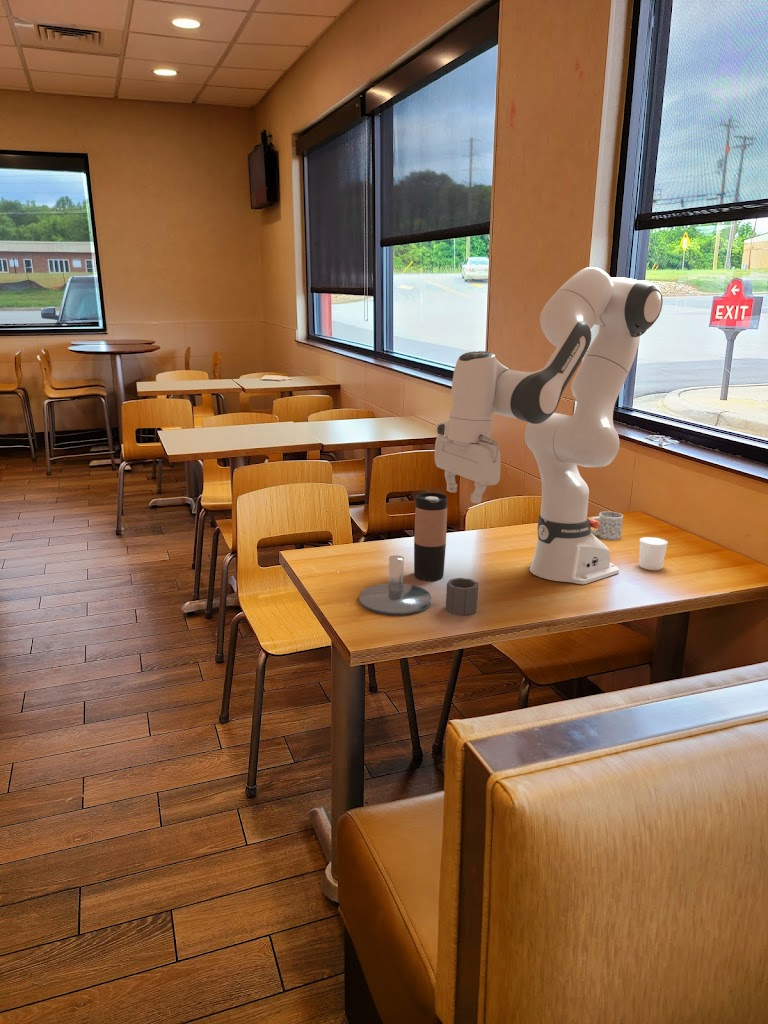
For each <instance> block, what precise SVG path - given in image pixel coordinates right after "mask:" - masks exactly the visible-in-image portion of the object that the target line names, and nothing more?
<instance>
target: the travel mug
mask: <svg viewBox="0 0 768 1024" xmlns="http://www.w3.org/2000/svg"><path fill="white" fill-rule="evenodd" d="M414 510H415V512H414V513H415V514H414V535H413V537H414V539H413V542H414V543H413V567H414V568H413V574H414V578H416V579H418V580H421V581H427V582H433V581H434V582H435V581H438V580H442V579H443V578H444V572H445V562H446V561H445V560H446V559H445V558H446V550H447V549H446V547H447V523H448V518H447V517H448V496H447V495H446V494H443V493H437V492H422V493H419V494H417V495H415V509H414Z"/></svg>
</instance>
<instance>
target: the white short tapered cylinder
mask: <svg viewBox="0 0 768 1024" xmlns="http://www.w3.org/2000/svg"><path fill="white" fill-rule="evenodd" d="M668 544H669V543H668V541H667V540H666V539H664V538H661V537H655V536H652V537H651V536H644V537H640V538H639V554H638V555H639V557H638V558H639V561H638V563H639V564H638V566H639V567H640V568H642V569H644V570H648V571H660V570H662V569H663V565H664V561H665V557H666V552H667V548H668Z"/></svg>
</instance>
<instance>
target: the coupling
mask: <svg viewBox="0 0 768 1024" xmlns="http://www.w3.org/2000/svg"><path fill="white" fill-rule="evenodd" d="M445 595H446V596H445V597H446V598H445V610H446V611H447V612H449V613H450V614H452V615H457V616H468V615H474V614H476V611H478V610H477V609H478V598H479V582H477V581H475V580H473V579H471V578H464V577H456V578H451V579H448V581H447V582H446V594H445Z"/></svg>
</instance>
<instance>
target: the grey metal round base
mask: <svg viewBox="0 0 768 1024" xmlns="http://www.w3.org/2000/svg"><path fill="white" fill-rule="evenodd" d="M404 561H405V559H404V556H402V555H397V554H396V555H395V554H394V555H390V556H389V558H388V583H387V582H386V583H378V584H373V585H371V586H368V587H366V588H364V589H362V590H361V591H360V593H359V600H358V601H359V604H360V606H361V607H362V608H363V609H365V610H366V611H367V610H368V611H369V612H372V613H375V614H380V615H386V616H409V615H410V616H411V615H415V614H419V613H422V612H424V611H426V610H428V609H429V608H430V607H431V605H432V595H431V593H430V592H429V591H428V590H426V589H424V588H422V587H420V586H416V585H413V584H409V583H408V584H407V583H404Z"/></svg>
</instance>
